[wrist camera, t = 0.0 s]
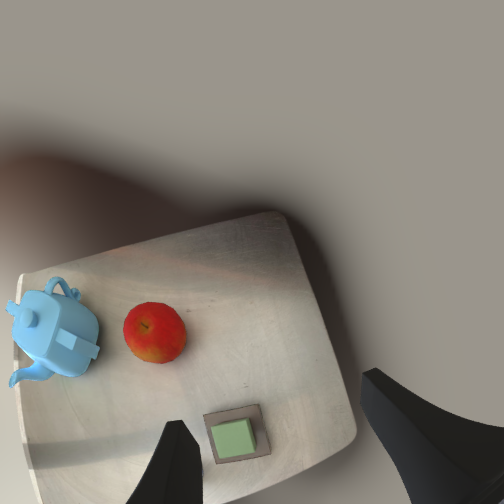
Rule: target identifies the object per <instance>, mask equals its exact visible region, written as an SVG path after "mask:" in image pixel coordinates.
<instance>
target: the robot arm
mask: <svg viewBox="0 0 504 504" xmlns="http://www.w3.org/2000/svg"><path fill="white" fill-rule="evenodd" d="M360 404H361V406H362V408H363V410H364V413H365V415H366V417H367V419H368V421H369V423H370V425H371V427H372V428H373V430H374V432H375V433H376V435H377V436H378V438H379V439H380V441H381V442H382V444H383V446H384V447H385V449H386V451H387V452H388V454H389V455H390V457H391V458H392V460H393V462H394V464H395V466H396V467H397V470H398V472H399V474H400V476H401V478H402V480H403V483H404V485H405V488H406V490H407V493H408V495H409V498H410V500H411V503H412V504H504V427H497V426H492V425H486V424H483V423H479V422H475V421H472V420H468V419H465V418H462V417H460V416H457V415H455V414H452V413H450V412H447V411H445V410H443V409H441V408H439V407H437V406H435V405H433V404H431V403H429V402H428V401H426V400H424V399H422V398H421V397H419V396H417V395H416V394H414V393H412V392H411V391H409V390H408V389H406V388H405V387H403V386H402V385H400V384H399V383H397V382H396V381H394V380H393V379H392V378H390V377H389V376H387V375H386V374H384V373H383V372H382V371H381V370H379V369H378V368H373V369H371V370H369V371H366V372H364V373H362V388H361V401H360ZM126 504H203V480H202V461H201V454H200V447H199V444H198V443H197V442H196V440H195V439H194V437H193V436H192V434H191V433H190V431H189V430H188V428H187V427H186V425H185V424H184V422H183V421H182V420H176V421H168V422H167V423H166V425H165V427H164V430H163V432H162V435H161V437H160V440H159V442H158V445H157V447H156V449H155V451H154V454H153V456H152V458H151V460H150V462H149V464H148V466H147V469H146V470H145V472H144V474H143V476H142V478H141V480H140V482H139V483H138V485H137V487H136V489H135V490H134V492H133V493H132V495H131V496H130V498H129V499H128V501H127V502H126Z"/></svg>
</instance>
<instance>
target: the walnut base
mask: <svg viewBox="0 0 504 504" xmlns="http://www.w3.org/2000/svg"><path fill="white" fill-rule="evenodd" d="M203 417H204V421H205V425H206V429H207V433H208V436H209V440H210V444H211V448H212V451H213V455H214V458H215V462H216V464H223V463H229V462H235V461H241V460H246V459H251V458H256V457H261V456H265V455H270V454H271V446H270V442H269V439H268V435H267V432H266V428H265V425H264V421H263V417H262V414H261V410H260V407H259V404H254V405H250V406H246V407H241V408H236V409H231V410H226V411H221V412H216V413H210V414H205V415H203ZM245 418H249V421H250V424H251V428H252V432H253V435H254V439H255V442H256V446H257V447H256V450H255V452H254V453H249V454H244V455H239V456H233V457H227V458H221V459H219V456H218V452H217V448H216V445H215V441H214V437H213V434H212V430H211V427H212V426H214V425H216V424H220V423H225V422H230V421H236V420H240V419H245Z"/></svg>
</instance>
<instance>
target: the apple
mask: <svg viewBox="0 0 504 504" xmlns="http://www.w3.org/2000/svg"><path fill="white" fill-rule="evenodd" d="M123 333H124V337H125V341H126V343H127V345H128V346H129V348H130V349H131V351H132V352H133V354H134V355H135V356H137V357H138V358H140V359H142V360H143V361H147V362H153V363H160V364H163V363H167V362H170V361H173V360H174V359H175V358H176V357H177V356H179V355H180V354H181V352H182V350H183V348H184V346H185V344H186V335H187V333H186V329H185V325H184V323H183V321H182V320H181V318H180V317H179V315H178V314H177V313H176V311H175V310H174V309H173V308H171V307H170V306H168V305H166V304H164V303H155V302H147V303H143V304H139V305H137V306H136V307H135V308H133V309H132V310H130V312H129V314H128V315H127V317H126V319H125V322H124V328H123Z"/></svg>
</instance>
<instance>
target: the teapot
mask: <svg viewBox="0 0 504 504" xmlns="http://www.w3.org/2000/svg"><path fill="white" fill-rule="evenodd" d="M57 283H59V284H60V286H61V288H62V289H63V292H64V294H65V296H64V295H61V294H57V293H52V292H53V289H54V287H55V285H56V284H57ZM80 297H81V293H80V291H79V290H78V289H76V288H72V289H71V290H70V288H69V286H68V284H67V283H66V281H65V280H64V279H62V278H60V277H53V278H51V279H50V280H49V281H48V282H47V284H46V286H45V290H44V291H38V290H29V291H27V292H26V293H25V294H24V296H23V298H22V300H21V302H20V305H17V304H16V303H14V302H12V301H11V300H9V302H8V304H7V307H6V311H7V312H9V313H10V314H11V315H13V316H14V317H15V319H14V323H13V327H12V337H13V339H14V340H15V342H16V343H17V344H18V345H19V346H20V347H21V348H22V349H23V350H24V351H25V352H26V353H27V354H28V355H29V356H30V357H31V358H32V359H33V360H34V361H35V363H34V364H33V365H32V366H31V367H29V368H22V369H18V370H16V371H15V372H14V373H13V374H12V376H11V378H10V381H9V387H10V388H12V387H13V386H14V385H15V384H16V383H17V382H19V381H21V380H36V381H43V380H47V379H48V378H50V377H51V376H52V375H53V374H54V373H58V374H61V375H64V376H69V377H77V376H80V375H82V374H83V373H84V372H85V371H86V370H87V368H88V366H89V363H90V361H91V358H93V359H95V360H96V358H97V355H98V352H99V349H100V347H99V346H97V345H96V341H97V337H98V333H99V324H98V321H97V318H96V317H95V315H94V314H93V313H92V312H91V311H90V310H89V309H88V308H86V307H85V306H84V305H82V304H81V303H79V301H80Z"/></svg>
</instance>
